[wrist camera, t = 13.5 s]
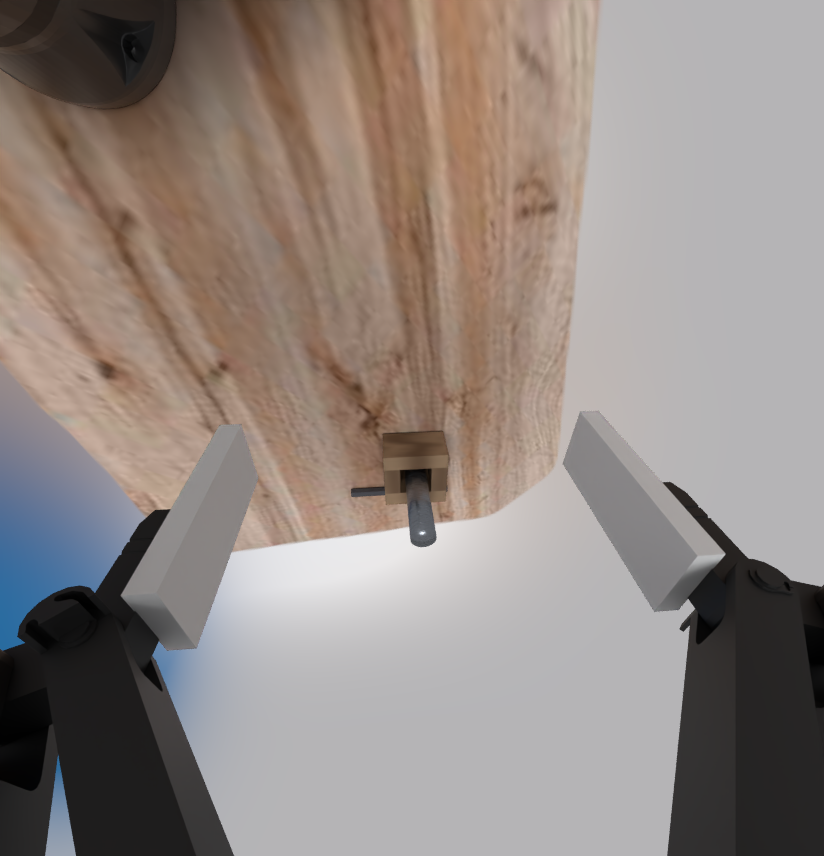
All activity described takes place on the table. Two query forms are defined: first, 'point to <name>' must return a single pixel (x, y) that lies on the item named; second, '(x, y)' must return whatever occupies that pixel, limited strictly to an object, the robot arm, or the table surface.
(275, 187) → the table surface
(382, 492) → the dark grey rod
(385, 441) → the bead block
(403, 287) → the table surface
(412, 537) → the dark grey peg
